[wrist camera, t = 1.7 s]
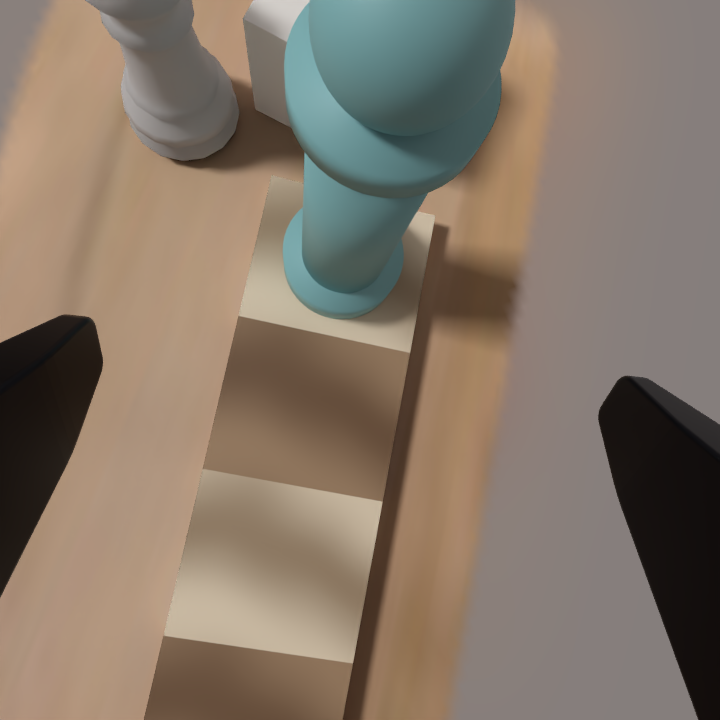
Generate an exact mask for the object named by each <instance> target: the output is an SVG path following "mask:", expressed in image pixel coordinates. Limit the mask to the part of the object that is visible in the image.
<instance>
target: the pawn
mask: <svg viewBox="0 0 720 720" xmlns="http://www.w3.org/2000/svg"><path fill="white" fill-rule="evenodd" d="M514 17H515V0H310V2H309V3H308V4H307V5H306V6H305V7H304V9H303V10H302V11H301V13H300V14H299V15H298V17H297V19H296V21H295V23H294V25H293V26H292V29H291V31H290V34H289V37H288V40H287V45H286V50H285V60H284V77H285V100H286V110H287V114H288V118H289V122H290V125H291V127H292V130H293V133H294V135H295V137H296V139H297V141H298V142H299V144H300V146H301V148H302V149H303V150H304V152H305V155H304V189H303V208H301V209H300V210H299V211H298V212H297V213H296V215H295V216H294V217H293V219H292V220H291V222H290V224H289V226H288V228H287V230H286V233H285V236H284V241H283V261H284V271H285V276H286V279H287V282H288V285H289V287H290V289H291V290H292V292H293V294H294V295H295V296H296V298H297V299H298V300H299V301H300V302H301V303H302V304H303V305H304V306H306V307H307V308H308V309H310V310H311V311H313V312H315V313H317V314H319V315H321V316H324V317H328V318H333V319H351V318H356V317H359V316H362V315H365V314H367V313H369V312H370V311H372V310H373V309H375V308H376V307H377V306H378V305H380V304H381V303H382V302H383V300H384V299H385V298H386V297H387V295H388V294H389V293H390V291H391V290H392V289H393V287H394V286H395V284H396V283H397V281H398V279H399V276H400V274H401V271H402V267H403V261H404V250H403V243H402V239H401V238H402V236H403V235H404V233H405V231H406V229H407V228H408V226H409V224H410V223H411V221H412V219H413V218H414V216H415V214H416V213H417V211H418V209H419V207H420V206H421V204H422V202H423V201H424V199H425V197H426V196H427V194H428V192H431V191H433V190H435V189H437V188H439V187H441V186H443V185H445V184H446V183H448V182H449V181H451V180H452V179H453V178H454V177H456V176H457V175H458V174H459V173H460V172H461V171H462V170H463V169H464V168H465V166H466V165H467V164H468V163H469V162H470V160H471V159H472V157H473V156H474V154H475V153H476V151H477V150H478V148H479V147H480V145H481V144H482V143H483V141H484V140H485V138H486V136H487V135H488V133H489V132H490V130H491V128H492V126H493V124H494V121H495V119H496V116H497V113H498V109H499V105H500V99H501V73H500V69H501V66H502V64H503V62H504V60H505V57H506V54H507V51H508V48H509V44H510V41H511V37H512V33H513V25H514Z"/></svg>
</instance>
